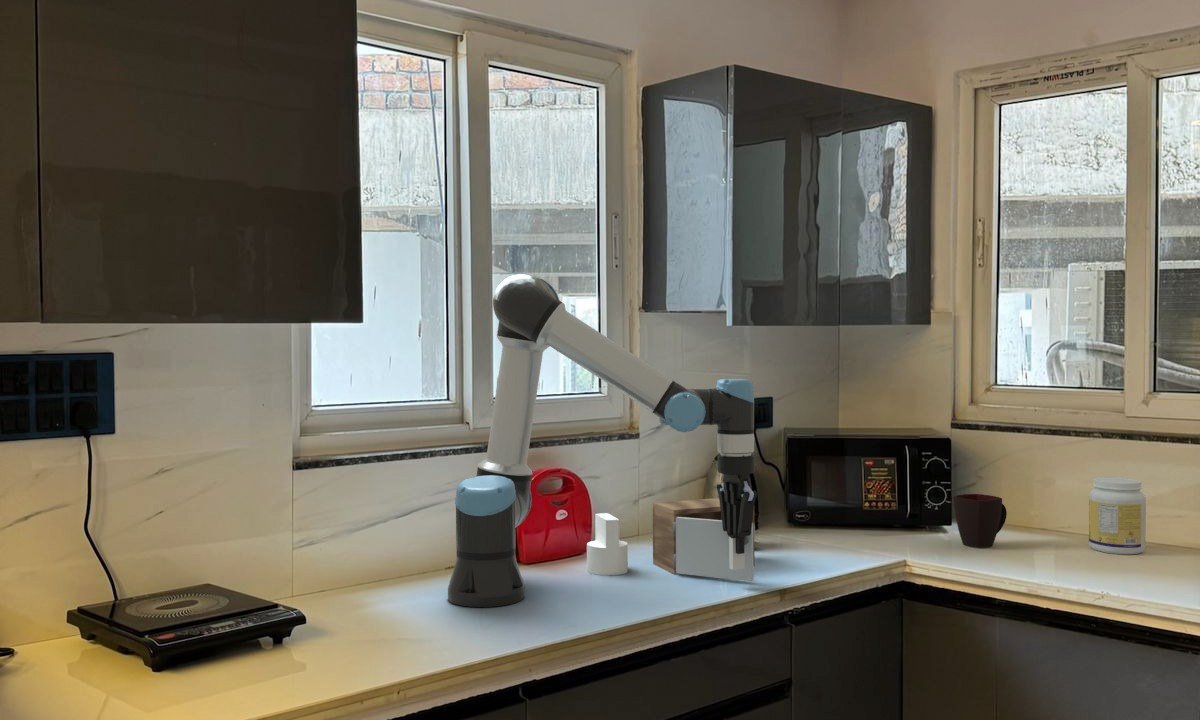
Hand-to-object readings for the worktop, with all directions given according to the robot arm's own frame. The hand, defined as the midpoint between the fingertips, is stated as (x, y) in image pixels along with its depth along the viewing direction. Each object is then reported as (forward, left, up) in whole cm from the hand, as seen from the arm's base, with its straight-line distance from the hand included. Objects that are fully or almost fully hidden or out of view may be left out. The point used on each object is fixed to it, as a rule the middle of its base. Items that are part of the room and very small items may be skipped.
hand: (736, 568), depth 206 cm
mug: (+77, +14, -4) cm, 78 cm away
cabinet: (+3, +21, -4) cm, 21 cm away
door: (-2, +7, -3) cm, 8 cm away
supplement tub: (+102, -3, -4) cm, 102 cm away
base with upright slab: (-19, +24, -4) cm, 31 cm away
